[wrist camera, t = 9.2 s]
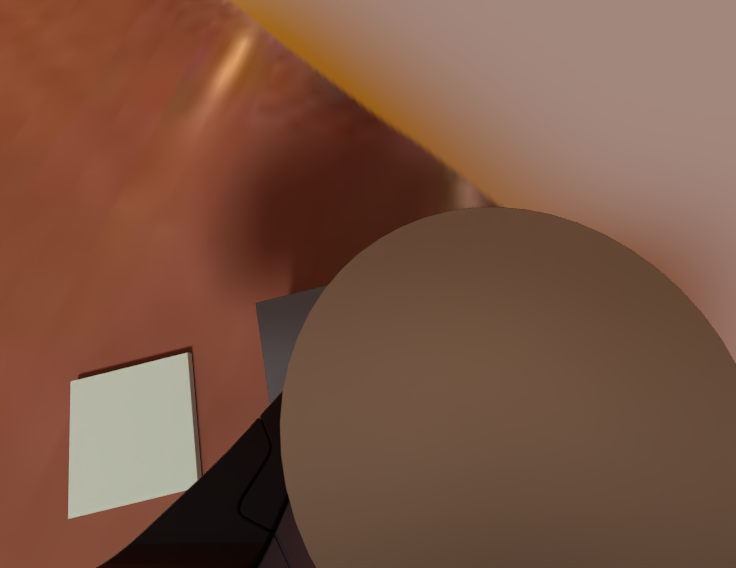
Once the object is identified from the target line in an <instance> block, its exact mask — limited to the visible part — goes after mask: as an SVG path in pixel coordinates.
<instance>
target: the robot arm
mask: <svg viewBox="0 0 736 568" xmlns="http://www.w3.org/2000/svg"><path fill="white" fill-rule="evenodd" d="M282 394H283V391H282V392H281V393H280V394H279V395H278V396H277V397H276V399H275V400H274V401H273V402H272V403H271V404H270V405H269V406H268V408H267V409H266V410H265V411H264V412H263V413H262V414H261V416H260V418H261V419H260V418H258V419H257V420H256V421H255V422H254V423H253V424H252V425H251V426H250V428H249V429H248V430H247V431H246V432H245V433H244V434H243V435H242V436H241V437H240V438H239V439H238V441H237V442H236V443H235V444H234V445H233V446H232V447H231V448H230V449H229V450H228V451H227V452H226V453H225V454H224V455H223V456H222V457H221V458H220V459H219V460H218V461H217V462H216V463H215V464H214V465H213V466H212V467H211V468H210V469H209V470H208V471H207V472H206V473H205V474H204V475H203V476H202V477H201V478H200V479H198V480H197V481H196V482H195V483H194V484H193V485H192V486H191V487H190V488H189V489H188V490H187V491H186V492H185V493H184V494H183V495H182V496H180V497H179V498H178V499H177V500H176V501H175V502H174V503H173V504H172V505H171V506H170V507H169V508H168V509H167V510H166V511H165V512H163V513H162V514H161V515H160V516H159V517H158V518H157V519H156V520H155V521H154V522H153V523H152V524H151V525H150V526H149V527H148V528H147V529H145V530H144V531H143V532H142V533H141V534H140V535H139V536H138V537H137V538H136V539H134V540H133V541H132V542H131V543H130V544H129V545H127V546H126V547H125V548H124V549H122V550H121V551H120V552H119V553H117V554H116V555H115V556H113V557H112V558H110V559H109V560H107V561H106V562H105V563H103V564H102V565H100V566H98V567H97V568H316V566H315V565H314V563H313V561H312V559H311V557H310V556H309V554H308V551H307V549H306V546H305V544H304V541H303V539H302V536H301V534H300V531H299V529H298V527H297V524H296V522H295V518H294V515H293V511H292V507H291V504H290V500H289V496H288V493H287V489H286V484H285V477H284V471H283V464H282V457H281V437H280V417H281V406H282Z"/></svg>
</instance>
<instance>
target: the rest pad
mask: <svg viewBox="0 0 736 568" xmlns="http://www.w3.org/2000/svg"><path fill="white" fill-rule="evenodd" d="M201 477H202V473H201V460H200V448H199V436H198V424H197V412H196V400H195V388H194V375H193V363H192V353H188V352H187V353H183V354H179V355H175V356H171V357H167V358H163V359H159V360H155V361H151V362H147V363H143V364H139V365H135V366H131V367H127V368H123V369H119V370H115V371H111V372H107V373H103V374H99V375H95V376H91V377H87V378H83V379H79V380H75V381H71V393H70V445H69V497H68V519H70V518H74V517H78V516H82V515H86V514H90V513H95V512H99V511H103V510H107V509H111V508H115V507H119V506H124V505H128V504H132V503H136V502H140V501H144V500H148V499H152V498H157V497H161V496H165V495H169V494H173V493H177V492H181V491H186V490H188V489H189V488H190V487H191V486H192V485H193V484H194V483H195V482H196V481H197V480H198V479H200V478H201Z"/></svg>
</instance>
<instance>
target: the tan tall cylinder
mask: <svg viewBox="0 0 736 568" xmlns="http://www.w3.org/2000/svg"><path fill="white" fill-rule="evenodd" d="M280 437H281V457H282V464H283V471H284V477H285V484H286V489H287V493H288V496H289V500H290V504H291V507H292V511H293V515H294V518H295V522H296V524H297V527H298V529H299V531H300V534H301V536H302V539H303V541H304V544H305V546H306V549H307V551H308V554H309V556H310V557H311V559H312V561H313V563H314V565H315V566H316V568H736V363H735V362H734V360H733V358H732V356H731V355H730V353H729V351H728V350H727V348H726V346H725V344H724V343H723V341H722V339H721V338H720V337H719V335H718V334H717V333H716V331H715V330H714V328H713V327H712V326H711V324H710V323H709V322H708V320H707V319H706V318H705V316H704V315H703V313H702V312H701V311H700V310H699V309H698V308H697V307H696V306H695V304H694V303H693V302H692V301H691V300H690V299H689V298H688V297H687V296H686V295H685V294H684V293H683V292H682V290H681V289H680V288H679V287H678V286H677V285H675V284H674V283H673V282H672V281H671V280H670V279H669V278H667V277H666V276H665V275H664V274H663V273H662V272H661V271H660V270H659V269H657V268H656V267H655V266H653V265H652V264H651V263H649V262H648V261H646V260H645V259H644V258H642V257H641V256H639V255H638V254H637V253H635V252H634V251H632V250H631V249H629V248H628V247H626V246H624V245H622V244H621V243H619V242H617V241H615V240H614V239H612V238H610V237H608V236H607V235H605V234H602V233H600V232H598V231H596V230H593V229H591V228H589V227H586V226H584V225H582V224H579V223H577V222H573V221H570V220H567V219H564V218H561V217H558V216H554V215H551V214H546V213H541V212H536V211H531V210H526V209H514V208H504V207H484V208H468V209H461V210H454V211H448V212H444V213H440V214H436V215H432V216H429V217H425V218H422V219H420V220H417V221H414V222H412V223H409V224H407V225H404V226H402V227H400V228H398V229H396V230H394V231H392V232H391V233H389V234H387V235H385V236H383V237H381V238H380V239H378V240H377V241H375V242H374V243H373V244H371V245H370V246H368V247H367V248H366V249H364V250H363V251H361V252H360V253H359V254H358V255H357V256H356V257H354V258H353V259H352V260H351V261H350V262H349V263H348V264H347V265H346V266H345V267H344V268H343V269H341V270H340V272H339V273H338V274H337V275H336V276H335V278H334V279H333V280H332V281H331V282H330V284H329V285H328V286H327V287H326V288H325V289H324V291H323V292H322V294H321V295H320V297H319V299H318V300H317V302H316V303H315V305H314V306H313V308H312V309H311V311H310V313H309V315H308V317H307V319H306V321H305V323H304V325H303V327H302V329H301V331H300V333H299V335H298V338H297V341H296V343H295V346H294V349H293V352H292V355H291V358H290V361H289V364H288V369H287V374H286V379H285V383H284V388H283V394H282V406H281V417H280Z"/></svg>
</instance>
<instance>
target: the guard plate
mask: <svg viewBox="0 0 736 568" xmlns="http://www.w3.org/2000/svg"><path fill="white" fill-rule="evenodd" d="M327 286H328V285H326V286H322V287H318V288H314V289H310V290H306V291H302V292H298V293H294V294H290V295H286V296H282V297H278V298H274V299H270V300H266V301H262V302H258V303H256V309H257V316H258V324H259V331H260V338H261V345H262V352H263V359H264V366H265V373H266V380H267V387H268V394H269V401H270V404H271V403H272V402H273V401H274V400H275V399H276V397H277V396H278V395H279V394H280V393H281V392H282V391H283V388H284V383H285V379H286V374H287V369H288V364H289V361H290V358H291V355H292V352H293V349H294V346H295V343H296V341H297V338H298V335H299V333H300V331H301V329H302V327H303V325H304V323H305V321H306V319H307V317H308V315H309V313H310V311H311V309H312V308H313V306H314V305H315V303H316V302H317V300H318V299H319V297H320V295H321V294H322V292H323V291H324V289H325V288H326V287H327Z"/></svg>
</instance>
